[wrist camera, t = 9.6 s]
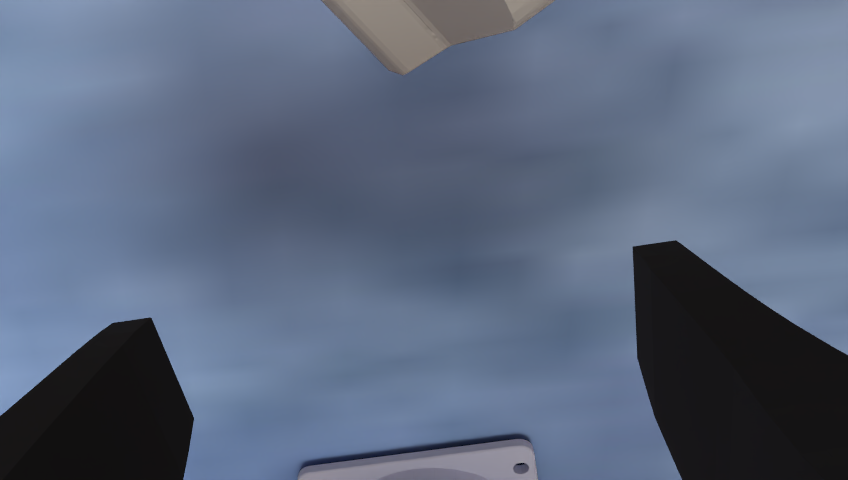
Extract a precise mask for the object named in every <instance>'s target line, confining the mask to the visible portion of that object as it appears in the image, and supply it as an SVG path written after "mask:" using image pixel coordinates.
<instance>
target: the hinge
mask: <svg viewBox="0 0 848 480" xmlns="http://www.w3.org/2000/svg"><path fill="white" fill-rule="evenodd" d="M321 1H322V2H323V3H324V4H325V5H326V6H327V7H328V8H329V9H330V10H331V11H332V12H333V13H334V14H335V15H336V16H337V17H338V18H339V19H340V20H341V21H342V22H343V23H344V24H345V25H346V26H347V27H348V29H349V30H350V31H351V32H352V33H353V34H354V35H355V36H356V37H357V38H358V39H359V40H360V41H361V42H362V43H363V44H364V45H365V46H366V47H367V48H368V49H369V50H370V51H371V52H372V53H373V54H374V55H375V56H376V57H377V59H378V60H379V61H380V62H381V63H382V64H383V65H384V66H385V67H386V68H387V69H388V70H389V71H392V72H395V73H398V74H401V75H405V74H407V73H409V72H410V71H412V70H413V69H415V68H416V67H418V66H419V65H421V64H423V63H424V62H426V61H427V60H429V59H430V58H432V57H433V56H435V55H437V54H438V53H440V52H441V51H443V50H444V49H446V48H448V47H450V46H451V45H455V44H459V43H463V42H467V41H471V40H475V39H480V38H484V37H488V36H492V35H496V34H500V33H504V32H508V31H512V30H515V29H517V28H518V27H519V26H521V25H522V24H523V23H525V22H526V21H528V20H529V19H530V18H532V17H533V16H534V15H536V14H537V13H539V12H540V11H541V10H543V9H544V8H545V7H547V6H548V5H550V4H551V3H552V2H554V1H555V0H321Z"/></svg>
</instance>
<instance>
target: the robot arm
mask: <svg viewBox="0 0 848 480" xmlns="http://www.w3.org/2000/svg"><path fill="white" fill-rule="evenodd" d="M633 264H634V288H635V311H636V335H637V358H638V362H639V365H640V369H641V372H642V376H643V379H644V382H645V386H646V389H647V393H648V396H649V399H650V403H651V406H652V409H653V412H654V416H655V418H656V421H657V423H658V426H659V428H660V430H661V433H662V435H663V437H664V439H665V442H666V444H667V446H668V449H669V451H670V453H671V455H672V458H673V460H674V462H675V464H676V467H677V469H678V471H679V473H680V476H681V478H682V480H848V355H846V354H844V353H843V352H841V351H839V350H837V349H835V348H834V347H832V346H830V345H829V344H827V343H825V342H824V341H822V340H820V339H819V338H817V337H815V336H814V335H812V334H810V333H808V332H807V331H805V330H803V329H802V328H800V327H798V326H797V325H795V324H794V323H792V322H790V321H789V320H787V319H786V318H784V317H783V316H781V315H780V314H778V313H776V312H775V311H773V310H772V309H770V308H769V307H767V306H766V305H764V304H763V303H761V302H760V301H759V300H757V299H756V298H754V297H753V296H751V295H750V294H748V293H747V292H746V291H744V290H743V289H741V288H740V287H738V286H737V285H736V284H734V283H733V282H731V281H730V280H729V279H727V278H726V277H725V276H723V275H722V274H721V273H719V272H718V271H717V270H715V269H714V268H712V267H711V266H710V265H708V264H707V263H706V262H704V261H703V260H702V259H700V258H699V257H698V256H696V255H695V254H694V253H692V252H691V251H690V250H688V249H687V248H686V247H684V246H683V245H682V244H680V243H679V242H677V241H676V240H675V241H668V242H662V243H655V244H648V245H641V246H634V247H633ZM193 421H194V417H193V415H192V412H191V410H190V408H189V405H188V403H187V401H186V398H185V396H184V394H183V391H182V389H181V387H180V384H179V382H178V380H177V377H176V375H175V373H174V370H173V368H172V365H171V363H170V361H169V358H168V356H167V354H166V351H165V349H164V347H163V344H162V342H161V340H160V337H159V335H158V333H157V330H156V328H155V325H154V323H153V321H152V318H144V319H137V320H131V321H124V322H117V323H112V324H111V325H109V326H108V327H106V328H105V329H104V330H102V331H101V332H100V333H98V334H97V335H96V336H94V337H93V338H92V339H91V340H89V341H88V342H87V343H86V344H84V345H83V346H82V347H81V348H80V349H78V350H77V351H76V352H75V353H74V354H72V355H71V356H70V357H69V358H68V359H67V360H65V361H64V362H63V363H62V364H61V365H60V366H58V367H57V368H56V369H55V370H54V371H53V372H51V373H50V374H49V375H48V376H47V377H46V378H44V379H43V380H42V381H41V382H40V383H39V384H37V385H36V386H35V387H34V388H33V389H32V390H30V391H29V392H28V393H27V394H26V395H25V396H23V397H22V398H21V399H20V400H19V401H18V402H16V403H15V404H14V405H13V406H12V407H11V408H9V409H8V410H7V411H6V412H5V413H3V414H2V415H1V416H0V480H183V477H184V472H185V467H186V462H187V457H188V452H189V446H190V440H191V434H192V427H193ZM518 463H525V464H523V465H516V464H518ZM298 480H538V477H537V470H536V462H535V455H534V449H533V446H532V444H531V443H530V442H529V441H527V440H524V439H513V440H505V441H498V442H490V443H482V444H474V445H467V446H459V447H451V448H444V449H436V450H428V451H420V452H413V453H405V454H397V455H389V456H382V457H374V458H366V459H358V460H351V461H343V462H335V463H328V464H320V465H312V466H307V467H304V468H303V469H301V470H300V472H299V474H298Z"/></svg>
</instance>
